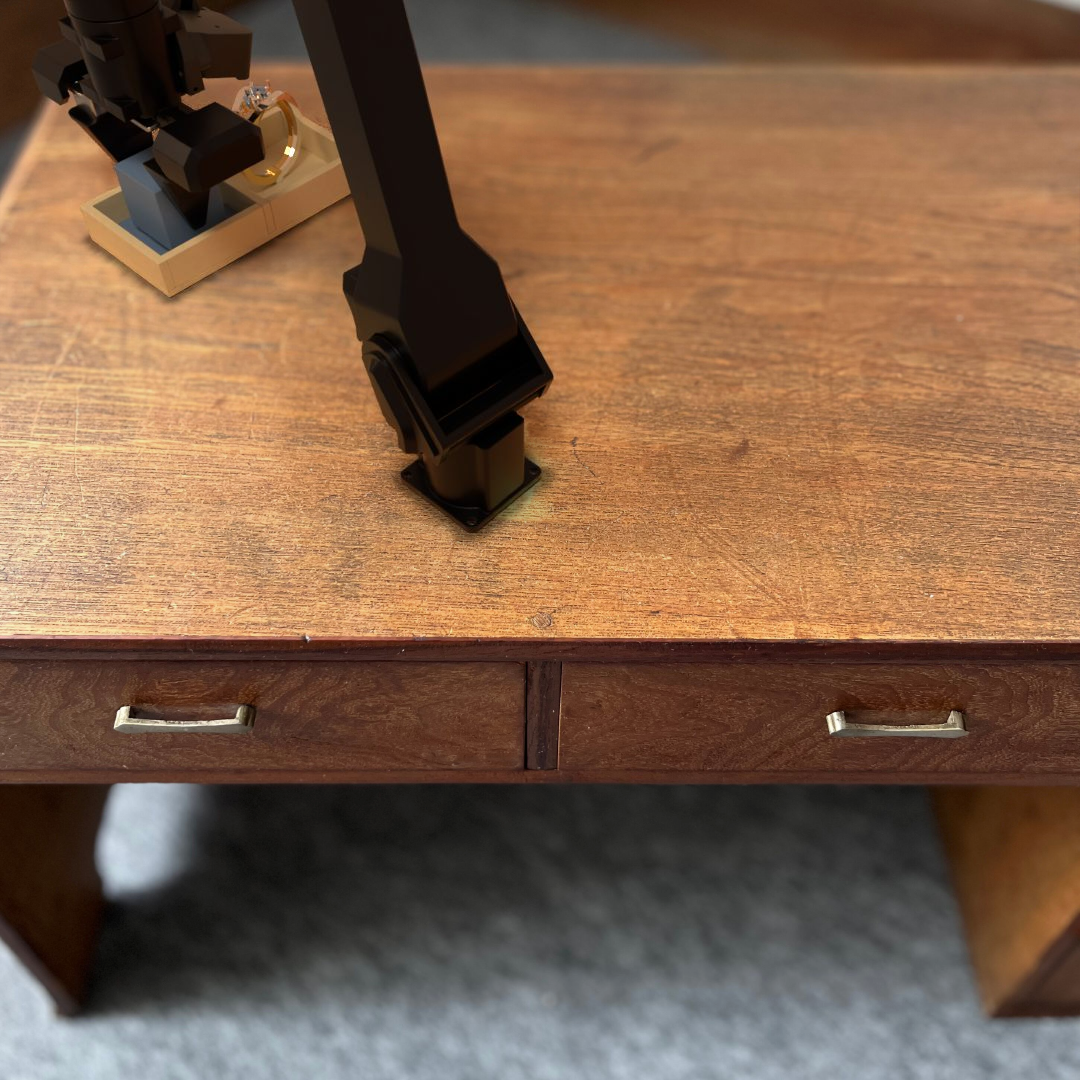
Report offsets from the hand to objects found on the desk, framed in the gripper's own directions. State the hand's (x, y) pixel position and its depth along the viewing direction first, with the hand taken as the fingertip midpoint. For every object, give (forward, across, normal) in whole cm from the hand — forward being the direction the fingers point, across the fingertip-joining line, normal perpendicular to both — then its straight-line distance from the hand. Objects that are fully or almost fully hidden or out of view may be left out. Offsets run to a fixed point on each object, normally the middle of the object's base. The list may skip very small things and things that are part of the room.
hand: (177, 212), depth 80 cm
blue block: (+1, 0, 0) cm, 1 cm away
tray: (+2, 0, -5) cm, 5 cm away
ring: (+2, 0, -9) cm, 9 cm away
